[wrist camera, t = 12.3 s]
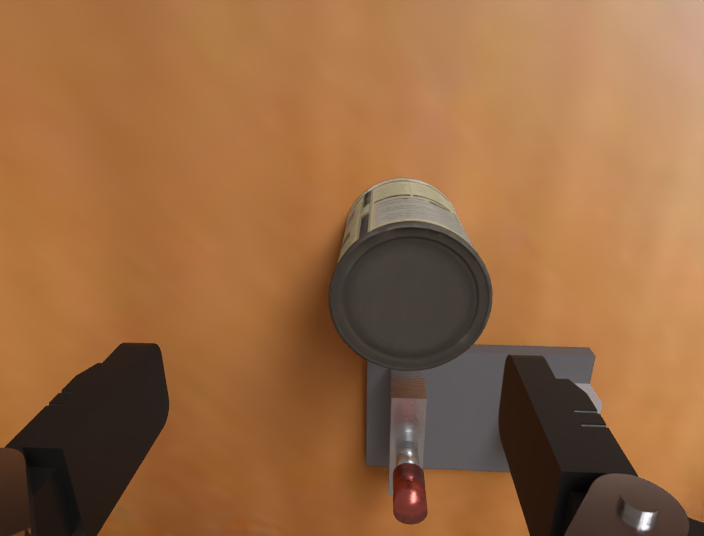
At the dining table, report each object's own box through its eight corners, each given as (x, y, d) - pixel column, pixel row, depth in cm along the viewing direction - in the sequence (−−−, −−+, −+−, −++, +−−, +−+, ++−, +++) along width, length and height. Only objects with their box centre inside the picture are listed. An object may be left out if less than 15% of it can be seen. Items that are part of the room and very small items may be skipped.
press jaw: (422, 366, 48) (434, 456, 37) (417, 458, 52) (426, 563, 41) (390, 365, 48) (392, 454, 37) (388, 457, 52) (389, 561, 41)
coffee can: (462, 282, 46) (493, 367, 33) (351, 290, 47) (338, 376, 34) (459, 170, 43) (492, 217, 29) (338, 182, 44) (318, 231, 30)
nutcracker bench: (589, 347, 48) (608, 374, 44) (566, 463, 53) (581, 497, 49) (367, 341, 49) (366, 367, 45) (366, 455, 54) (365, 488, 50)
